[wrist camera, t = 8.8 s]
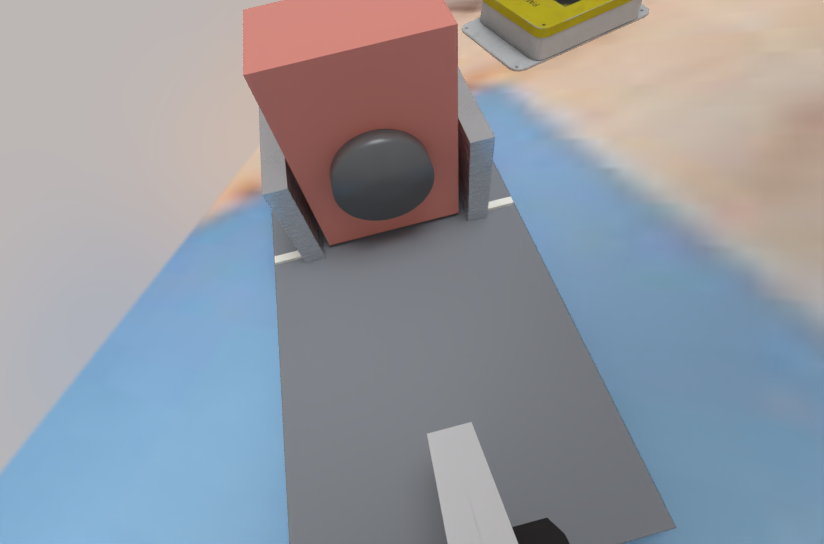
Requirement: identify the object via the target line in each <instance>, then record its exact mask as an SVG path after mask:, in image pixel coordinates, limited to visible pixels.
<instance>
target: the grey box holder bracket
mask: <svg viewBox="0 0 824 544" xmlns="http://www.w3.org/2000/svg"><path fill="white" fill-rule="evenodd" d="M259 122H260V151H261V178H262V195H263V197H264V199H265V200H266V202H267V203H268V205H269V206H270V208H271V209H272V211H273V213H274V214H275V216H276V217H277V219H278V220H279V222H280V224H281V225H282V227H283V228H284V230H285V231H286V233H287V234H288V236H289V238H290V239H291V241H292V242H293V244H294V245H295V247H296V248H297V250H298V252H299V253H300V255H301V256H302V258H303V259H304V261H305V262H306V263H310V262H314V261H318V260H322V259H326V256H325V249H324V242H323V235H322V230H321V228H320V226H319V224H318V222H317V220H316V218H315V216H314V214H313V212H312V210H311V208H310V206H309V204H308V202H307V200H306V198H305V196H304V194H303V192H302V190H301V188H300V186H299V184H298V182H297V180H296V178H295V176H294V174H293V172H292V170H291V168H290V166H289V164H288V162H287V160H286V158H285V156H284V154H283V153H282V151H281V149H280V147H279V145H278V143H277V141H276V139H275V137H274V135H273V133H272V131H271V129H270V127H269V125H268V123H267V121H266V119H265V117H264V115H263V113H262V111H261V109H260V107H259ZM494 140H495V136H494V134H493V133H492V131H491V129H490V127H489V125H488V123H487V121H486V119H485V117H484V115H483V114H482V112H481V110H480V108H479V106H478V104H477V102H476V100H475V98H474V97H473V95H472V93H471V91H470V89H469V87H468V85H467V83H466V81H465V79H464V78H463V76H462V74H461V72H460V70H459V68H458V192H459V201H460V203H461V206H462V208H463V211H464V213H465V216H466V218H467V221H468V222H470V221H474V220H478V219H482V218H486V217H487V215H488V204H489V193H490V183H491V172H492V162H493V151H494Z"/></svg>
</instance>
